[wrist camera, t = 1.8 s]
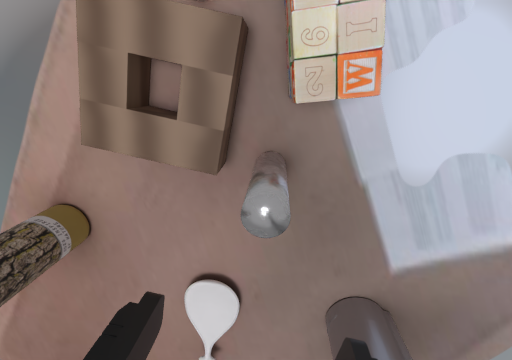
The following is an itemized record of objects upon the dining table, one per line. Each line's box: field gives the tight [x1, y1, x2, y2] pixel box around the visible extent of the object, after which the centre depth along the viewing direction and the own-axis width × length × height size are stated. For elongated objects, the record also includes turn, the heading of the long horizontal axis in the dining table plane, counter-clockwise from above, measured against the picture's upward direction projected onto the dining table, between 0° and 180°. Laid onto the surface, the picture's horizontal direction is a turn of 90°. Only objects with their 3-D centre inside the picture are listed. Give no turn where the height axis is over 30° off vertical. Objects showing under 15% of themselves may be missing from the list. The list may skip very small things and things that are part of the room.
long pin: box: [241, 151, 290, 238], centre depth 27 cm, size 4×4×14 cm
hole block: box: [76, 0, 248, 175], centre depth 29 cm, size 16×16×5 cm
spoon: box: [184, 280, 240, 360], centre depth 45 cm, size 9×32×4 cm, turn 175°
